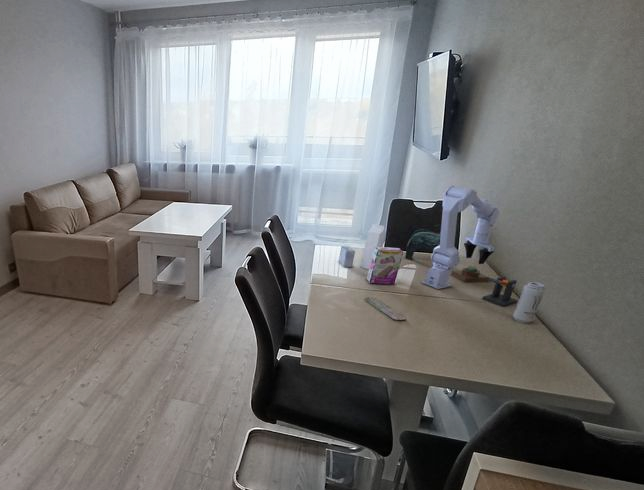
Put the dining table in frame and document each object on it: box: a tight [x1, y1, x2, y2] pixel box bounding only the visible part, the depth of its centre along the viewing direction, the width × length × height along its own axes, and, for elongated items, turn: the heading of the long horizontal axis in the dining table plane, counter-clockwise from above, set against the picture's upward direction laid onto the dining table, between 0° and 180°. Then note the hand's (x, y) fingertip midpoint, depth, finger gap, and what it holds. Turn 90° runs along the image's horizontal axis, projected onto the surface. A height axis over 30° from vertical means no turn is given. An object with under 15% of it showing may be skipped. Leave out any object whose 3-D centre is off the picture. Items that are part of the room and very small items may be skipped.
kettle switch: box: [487, 277, 509, 288], centre depth 169 cm, size 11×5×2 cm, turn 116°
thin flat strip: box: [365, 296, 406, 321], centre depth 164 cm, size 5×20×1 cm, turn 11°
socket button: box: [466, 265, 478, 272], centre depth 195 cm, size 4×4×2 cm
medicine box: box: [338, 245, 356, 268], centre depth 208 cm, size 8×4×9 cm, turn 179°
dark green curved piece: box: [404, 224, 442, 260], centre depth 213 cm, size 20×6×20 cm, turn 58°
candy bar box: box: [366, 246, 404, 286], centre depth 186 cm, size 11×5×16 cm, turn 84°
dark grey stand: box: [482, 276, 518, 308], centre depth 172 cm, size 10×8×10 cm
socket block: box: [450, 267, 490, 283], centre depth 196 cm, size 12×9×4 cm
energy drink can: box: [512, 281, 546, 324], centre depth 155 cm, size 6×6×15 cm
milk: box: [360, 223, 387, 271], centre depth 202 cm, size 6×6×22 cm
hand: (474, 260), depth 194 cm, fingers open, 7 cm apart
